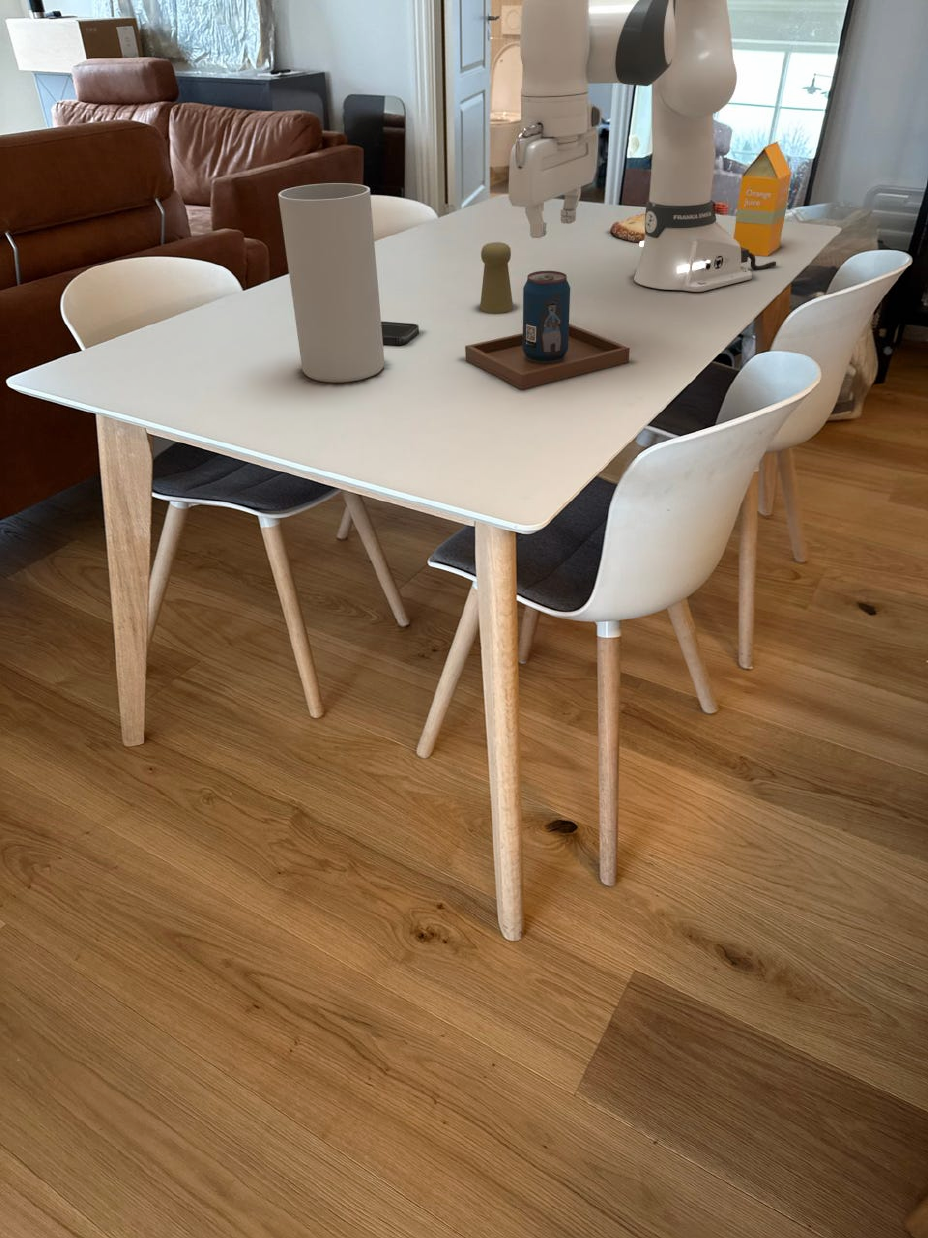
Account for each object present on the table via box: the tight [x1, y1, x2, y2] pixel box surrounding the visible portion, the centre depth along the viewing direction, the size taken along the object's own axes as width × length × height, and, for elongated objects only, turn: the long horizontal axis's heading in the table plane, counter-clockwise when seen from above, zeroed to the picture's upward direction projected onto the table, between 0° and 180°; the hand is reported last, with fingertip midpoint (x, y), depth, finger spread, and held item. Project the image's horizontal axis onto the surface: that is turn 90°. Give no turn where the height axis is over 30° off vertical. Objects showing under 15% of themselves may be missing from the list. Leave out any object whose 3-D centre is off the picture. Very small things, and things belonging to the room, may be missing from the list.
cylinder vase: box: [277, 182, 385, 384], centre depth 131 cm, size 12×12×25 cm
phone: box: [381, 320, 420, 346], centre depth 151 cm, size 8×1×15 cm
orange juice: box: [733, 141, 792, 257], centre depth 186 cm, size 8×9×20 cm
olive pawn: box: [479, 241, 514, 314], centre depth 159 cm, size 6×6×11 cm
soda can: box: [522, 270, 571, 363], centre depth 135 cm, size 7×7×12 cm
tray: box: [464, 323, 631, 390], centre depth 138 cm, size 20×16×2 cm
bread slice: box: [609, 213, 645, 243], centre depth 203 cm, size 18×18×4 cm
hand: (553, 229), depth 128 cm, fingers open, 8 cm apart
